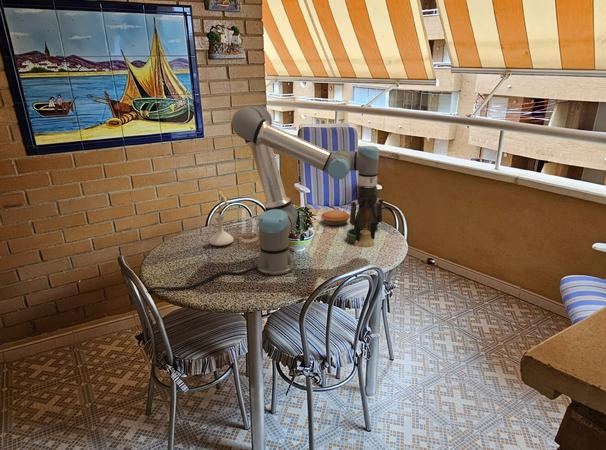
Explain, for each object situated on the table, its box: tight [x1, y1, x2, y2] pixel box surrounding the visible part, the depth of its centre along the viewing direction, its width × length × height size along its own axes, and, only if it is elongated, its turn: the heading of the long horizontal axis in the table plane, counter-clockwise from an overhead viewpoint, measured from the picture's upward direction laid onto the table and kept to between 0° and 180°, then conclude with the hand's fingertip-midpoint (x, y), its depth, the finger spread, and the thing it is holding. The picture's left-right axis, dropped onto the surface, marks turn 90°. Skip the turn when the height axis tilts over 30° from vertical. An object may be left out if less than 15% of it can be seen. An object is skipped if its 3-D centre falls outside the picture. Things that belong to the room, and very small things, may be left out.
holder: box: [346, 227, 370, 245], centre depth 195 cm, size 12×12×4 cm
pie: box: [320, 210, 350, 226], centre depth 219 cm, size 16×16×5 cm
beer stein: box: [359, 191, 379, 231], centre depth 209 cm, size 15×11×20 cm
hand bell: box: [354, 208, 376, 248], centre depth 169 cm, size 8×8×16 cm
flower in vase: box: [209, 190, 235, 247], centre depth 191 cm, size 13×11×25 cm
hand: (364, 239), depth 171 cm, fingers closed on hand bell, 6 cm apart
